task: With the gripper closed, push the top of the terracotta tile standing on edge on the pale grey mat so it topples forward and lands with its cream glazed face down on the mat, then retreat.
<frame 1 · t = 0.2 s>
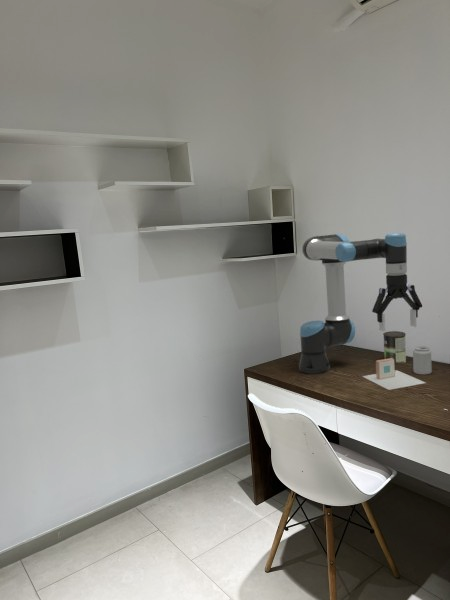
hand: (397, 328, 179), 28 cm above the table, fingers open, 13 cm apart
can: (422, 373, 207), on the table
tile: (385, 377, 205), point 1 cm above the table, touching mat
coffee can: (395, 361, 228), on the table
mat: (393, 380, 201), on the table
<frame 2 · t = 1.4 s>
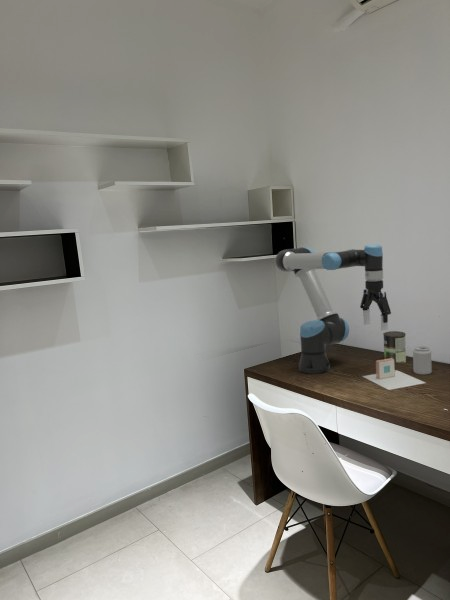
hand: (375, 326, 207), 23 cm above the table, fingers open, 13 cm apart
nothing on the table moved.
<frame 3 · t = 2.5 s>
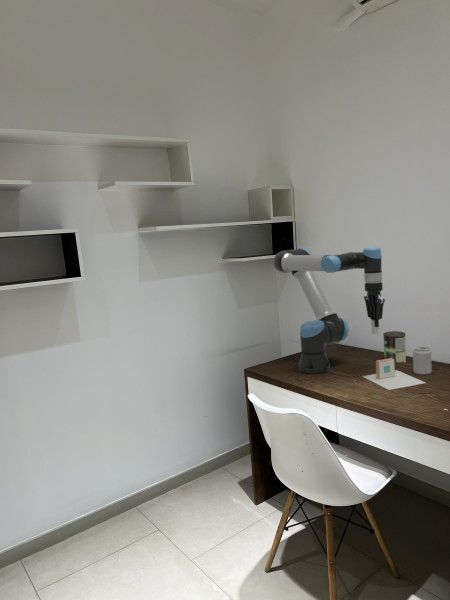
hand: (375, 333, 208), 19 cm above the table, fingers closed
nothing on the table moved.
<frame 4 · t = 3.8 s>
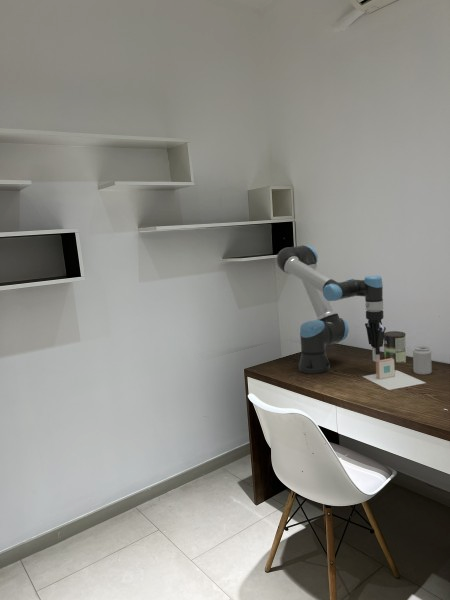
hand: (376, 360, 210), 6 cm above the table, fingers closed
nothing on the table moved.
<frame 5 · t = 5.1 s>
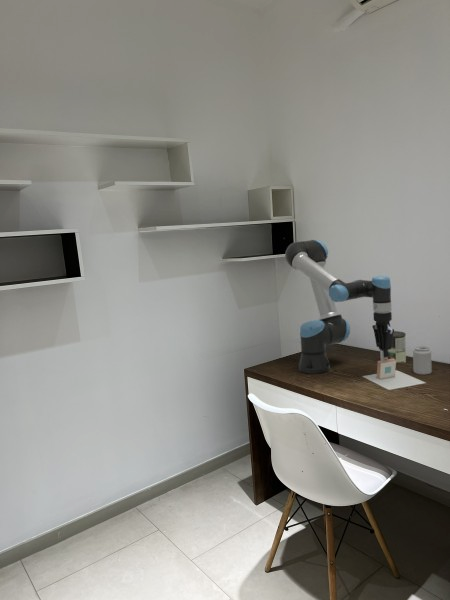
hand: (384, 363, 204), 7 cm above the table, fingers closed
tile: (385, 376, 204), point 1 cm above the table, tilted 10°, touching mat
everything else where it was.
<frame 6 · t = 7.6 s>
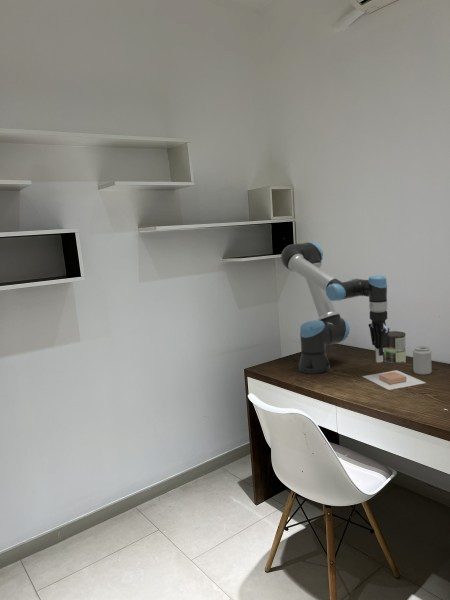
hand: (379, 361, 208), 7 cm above the table, fingers closed
tile: (387, 375, 203), point 2 cm above the table, tilted 90°, touching mat
everything else where it was.
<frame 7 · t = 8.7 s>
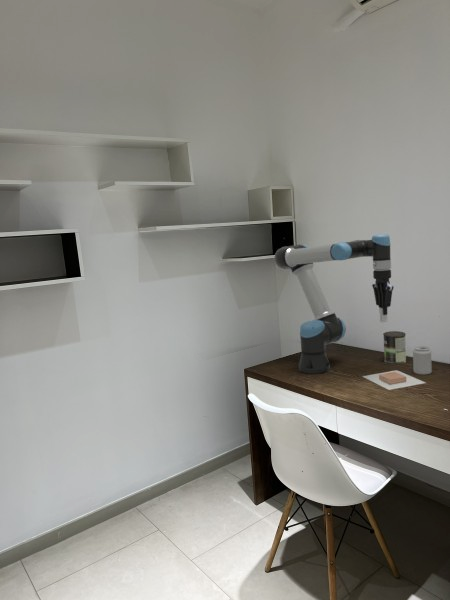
hand: (383, 321, 208), 24 cm above the table, fingers closed
nothing on the table moved.
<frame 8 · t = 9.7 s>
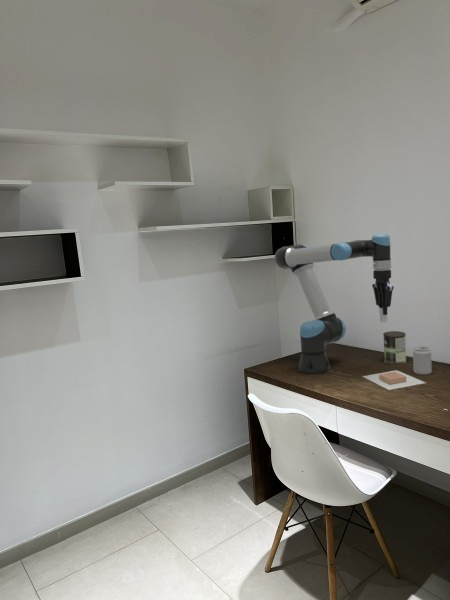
hand: (383, 321, 208), 24 cm above the table, fingers closed
nothing on the table moved.
at the end: tile tilted 90°; tile inside the target area on the mat (3.1 cm from its centre), point 1.8 cm above the mat's base; tile touching mat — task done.
